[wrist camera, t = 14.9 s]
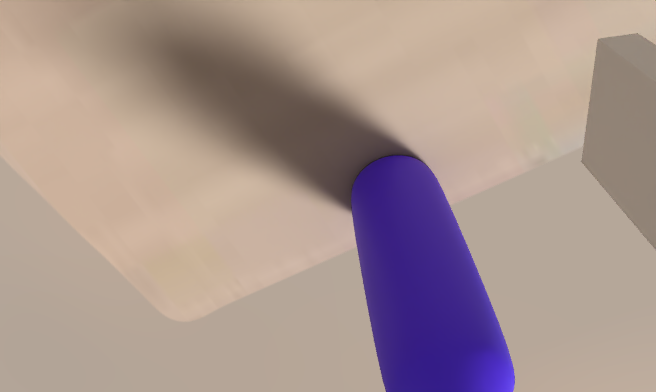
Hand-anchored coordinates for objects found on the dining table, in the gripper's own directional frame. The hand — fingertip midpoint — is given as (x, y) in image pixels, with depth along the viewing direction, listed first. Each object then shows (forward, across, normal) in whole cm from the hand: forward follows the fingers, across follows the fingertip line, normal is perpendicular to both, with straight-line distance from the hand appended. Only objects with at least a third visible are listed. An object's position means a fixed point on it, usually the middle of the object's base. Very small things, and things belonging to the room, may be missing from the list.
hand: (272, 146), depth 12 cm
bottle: (+35, +7, -25) cm, 43 cm away
